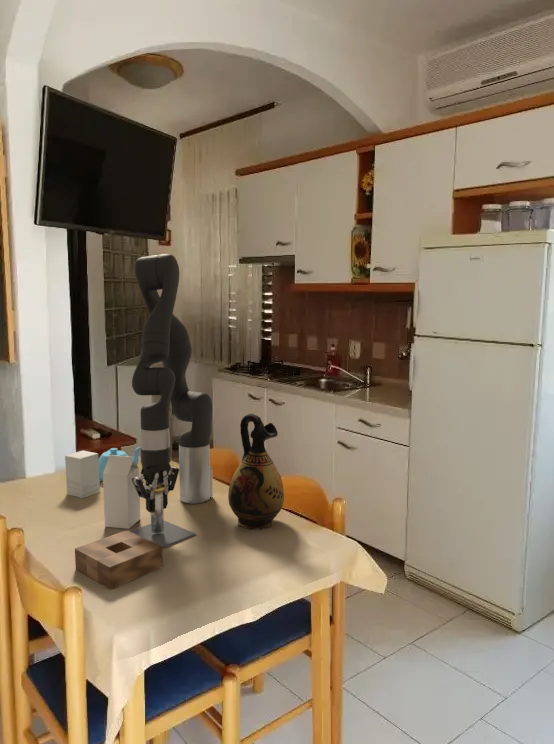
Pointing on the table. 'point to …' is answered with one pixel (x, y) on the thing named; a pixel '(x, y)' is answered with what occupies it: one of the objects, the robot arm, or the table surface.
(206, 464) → the robot arm
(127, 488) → the milk carton
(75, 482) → the supplement box
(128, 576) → the walnut block
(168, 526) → the rubber mat
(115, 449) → the teapot
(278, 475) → the ceramic jug
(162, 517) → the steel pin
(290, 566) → the table surface
